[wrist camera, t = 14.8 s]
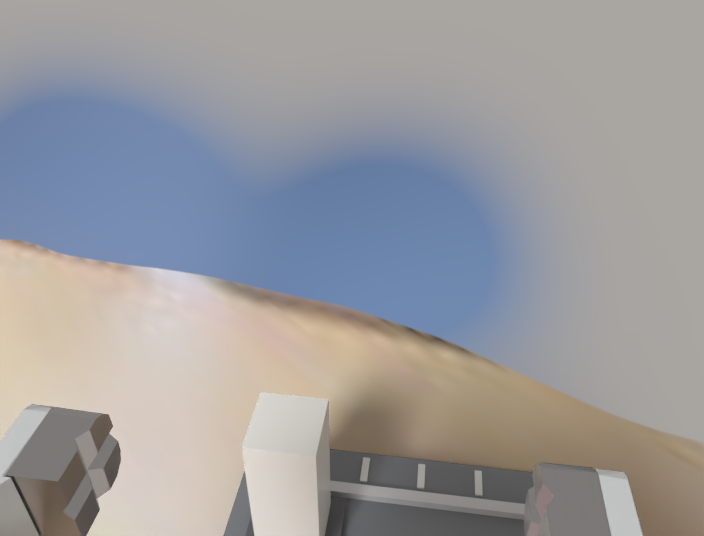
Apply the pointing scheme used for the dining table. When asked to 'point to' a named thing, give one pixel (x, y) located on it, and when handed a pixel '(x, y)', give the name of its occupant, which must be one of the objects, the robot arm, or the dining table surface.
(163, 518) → the dining table surface
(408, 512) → the console
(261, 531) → the fader knob
